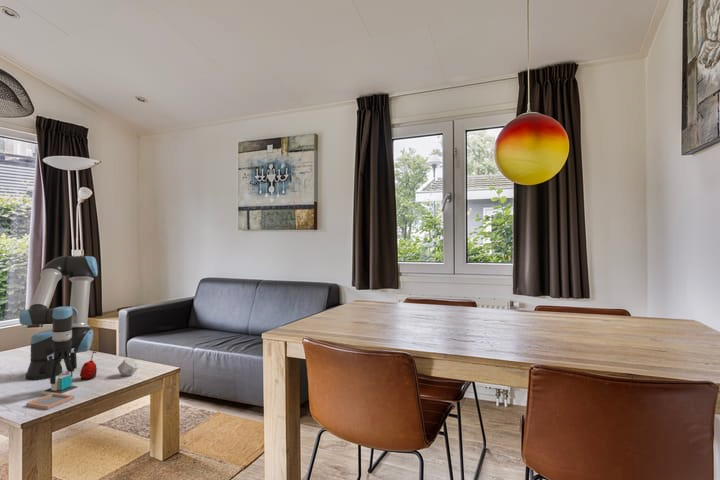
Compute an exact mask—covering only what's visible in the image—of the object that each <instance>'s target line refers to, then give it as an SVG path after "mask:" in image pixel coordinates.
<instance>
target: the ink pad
mask: <svg viewBox="0 0 720 480" xmlns="http://www.w3.org/2000/svg"><path fill="white" fill-rule="evenodd" d="M80 389H82V386H78V385H72V384H71V387H68V388H66V389H63V390H56V391H55V390H51V387H50V388H47V389H44V390H41V391H40V394H41V395H45V396H47V395H49V394H52V393H59V394H66V395H70V394H71V393H74V392H76V391H78V390H80Z"/></svg>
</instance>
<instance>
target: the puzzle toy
mask: <svg viewBox="0 0 720 480" xmlns="http://www.w3.org/2000/svg"><path fill="white" fill-rule="evenodd" d="M57 376H58V390H63V389H66V388H68V387H71V385H72V377H71V375H68V374H65V373H61V374H60V375H57ZM51 387H52V384H50V388H51Z"/></svg>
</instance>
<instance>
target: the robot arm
mask: <svg viewBox="0 0 720 480" xmlns="http://www.w3.org/2000/svg"><path fill="white" fill-rule="evenodd" d="M98 273H99V271H98V263H97V259H96V258H95V257H94V256H91V255H90V256H89V255H77V256H76V255H63V256H62V255H61V256H58V257H55V258H53V259H52V260H50V261H49V262H47V263H46V264H45V265H44V266H43V267H42V269H41V271H40V274H39V276H40V279H39V282H38V284H37V287H36V289H35V293H34V296H32V299H31V302H30V304H29V308H27V309H23V310H21V312H20V313H19V316H18V317H19V318H18V319H19V321H18V322H19V324H20V325H22V326H37V325H38V326H39V325H52V329H47V330H43V331H39V332H37V333H34V334H33V335H32V336H31V338H30V363H29V366H28V368H27V371H26V373H25V379H26V380H32V381H36V380H37V381H38V380H44V379H50V381H49V383H50V385H51V384H52V387H51V386H50V388H51V390H55V391H56V390H58V376H57V375H60V374H63V367H62V364H61V362H62V361H63V362H64V365H65V368H66V371H65V373H64V374H68V375H71V378H73V372H75V370H76V369H77V367H78V366H77V365H78V363H77V353H78V354H79V353H83V352H84V353H85V352H89V350H90V348H91V347H92V344H93V340H94V330H93V329H91V326H90V325H88V321H89V319H88V318H89V308H90V307H89V305H90V291H91V283H92V281H94V280H95V277H98ZM65 277H66V278H67V277H68V280H69V281H70V282H71V291H70V303H69V306H57V307H54V308H50V306H51V303H52V299H53V297H54V295H55V291H56V287H57V285H58V282H59V281H60V280H61V279H62V278H65Z"/></svg>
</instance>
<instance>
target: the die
mask: <svg viewBox="0 0 720 480" xmlns="http://www.w3.org/2000/svg"><path fill="white" fill-rule="evenodd" d="M138 369H139V366H138V364H137V361H136V359H127V358H126V359H124V360H122V362H121V363H120V364H119V365H118V366H117V370H118V372H119V374H120V376H121V377H132V376H133V375H134V374H135V372H137V370H138Z"/></svg>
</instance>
